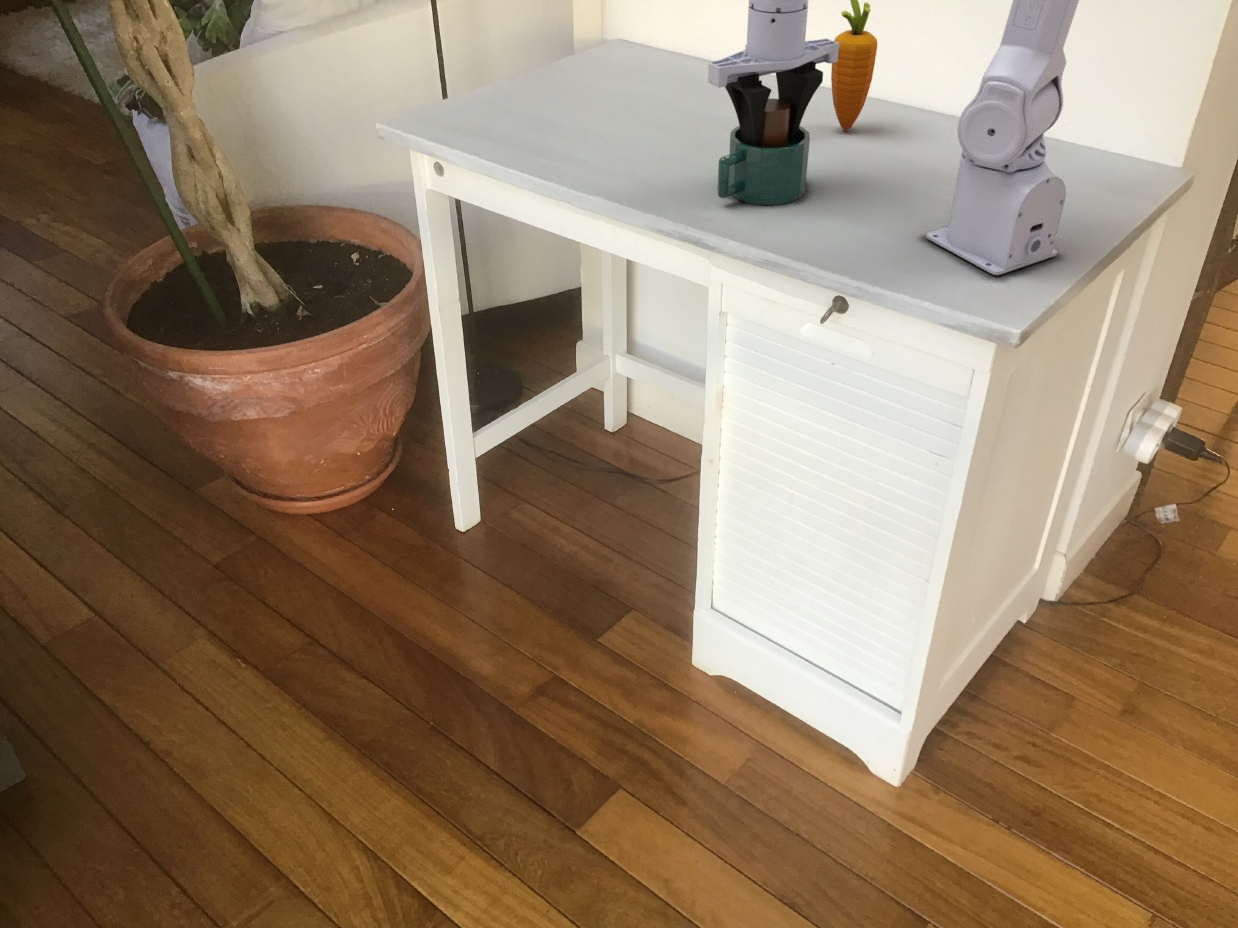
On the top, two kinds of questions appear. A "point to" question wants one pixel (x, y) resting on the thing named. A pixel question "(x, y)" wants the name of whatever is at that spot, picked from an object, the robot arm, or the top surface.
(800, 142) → the mug
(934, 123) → the top surface
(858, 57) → the carrot
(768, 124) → the walnut peg
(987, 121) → the robot arm
